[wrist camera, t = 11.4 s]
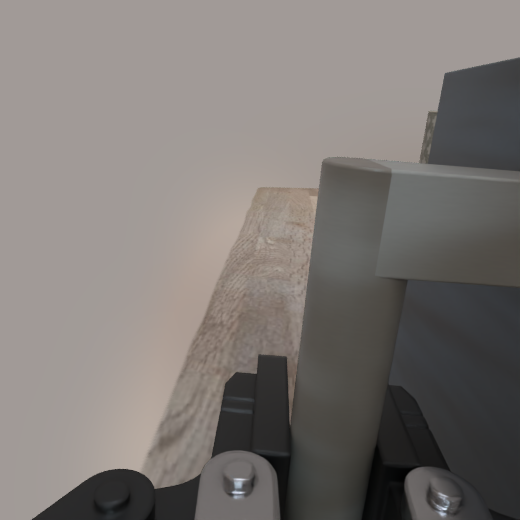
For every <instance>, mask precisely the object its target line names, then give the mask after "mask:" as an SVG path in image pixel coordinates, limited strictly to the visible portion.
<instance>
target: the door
mask: <svg viewBox="0 0 520 520" xmlns="http://www.w3.org/2000/svg"><path fill="white" fill-rule="evenodd" d="M388 383H389V385H395V386H402V387H403V388H404V389H405V390H406V391H407V392H408V393H409V394H411V395H412V396H413V397H414V398H415V399H416V401H417V403H418V405H419V407H420V409H421V411H422V413H423V417H425V419H426V421H427V423H428V425H429V429H430V430H431V432H432V434H433V436H434V438H435V440H436V442H437V444H438V446H439V448H440V450H441V452H442V454H443V456H444V458H445V460H446V462H447V465H448V467H449V469H450V471H451V472H453V473H455V474H457V475H459V476H461V477H462V478H464V479H465V480H467V481H468V482H469V483H470V484H472V485H473V486H474V487H475V488H476V489H477V490H478V492H479V493H480V494H481V496H482V498H483V499H484V501H485V503H486V505H487V508H489V509H491V510H493V511H495V512H498V513H501V514H503V515H506V516H509V517H512V518H515V519H518V520H520V58H515V59H510V60H505V61H500V62H496V63H491V64H486V65H481V66H476V67H472V68H467V69H462V70H457V71H453V72H449V73H445V76H444V81H443V87H442V91H441V97H440V102H439V107H438V112H437V117H436V123H435V128H434V133H433V138H432V144H431V149H430V154H429V159H428V164H423V163H410V162H399V161H387V160H375V159H362V158H345V157H332V158H326V159H324V160H323V162H322V168H321V176H320V185H319V192H318V201H317V209H316V217H315V226H314V234H313V242H312V250H311V259H310V267H309V275H308V283H307V292H306V300H305V308H304V317H303V325H302V333H301V341H300V350H299V358H298V366H297V374H296V383H295V391H294V399H293V408H292V416H291V424H290V446H291V459H290V467H289V476H288V485H287V494H286V502H285V511H284V520H362V515H363V510H364V505H365V500H366V494H367V489H368V484H369V479H370V474H371V468H372V463H373V458H374V453H375V448H376V442H377V437H378V432H379V427H380V422H381V416H382V411H383V406H384V401H385V396H386V391H387V385H388Z"/></svg>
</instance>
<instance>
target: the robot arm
mask: <svg viewBox="0 0 520 520" xmlns="http://www.w3.org/2000/svg"><path fill="white" fill-rule="evenodd" d="M290 459H291V446H290V422H289V398H288V374H287V357H286V356H273V355H261V354H259V355H258V368H257V374H251V373H239V372H236V373H235V374H234V375H233V376H232V377H231V378H230V379H229V380H228V381H227V382H226V384H225V389H224V394H223V400H222V405H221V412H220V415H219V421H218V426H217V431H216V437H215V442H214V447H213V452H212V457H211V459H210V460H209V461H208V462H207V463H206V465H205V466H204V467H203V469H202V472H201V474H200V475H198V476H197V477H195V478H194V479H192V480H190V481H188V482H185V483H183V484H179V485H175V486H170V487H165V488H160V489H154V486H153V484H152V482H151V481H150V480H149V479H148V478H147V477H146V476H145V475H143V474H141V473H139V472H137V471H133V470H128V469H115V470H108V471H104V472H101V473H99V474H96V475H94V476H92V477H91V478H89V479H88V480H86V481H84V482H83V483H81V484H80V485H79V486H77V487H76V488H75V489H73V490H72V491H70V492H69V493H68V494H66V495H65V496H64V497H62V498H61V499H59V500H58V501H57V502H55V503H54V504H53V505H51V506H50V507H49V508H47V509H46V510H45V511H43V512H42V513H40V514H39V515H37V516H36V517H35V518H33V519H32V520H284V511H285V502H286V494H287V485H288V476H289V467H290ZM362 520H518V519H515V518H512V517H509V516H506V515H503V514H501V513H498V512H495V511H493V510H491V509H489V508H487V505H486V503H485V501H484V499H483V498H482V496H481V494H480V493H479V492H478V490H477V489H476V488H475V487H474V486H473V485H472V484H470V483H469V482H468V481H467V480H465V479H464V478H462V477H461V476H459V475H457V474H455V473H453V472H451V471H450V469H449V467H448V465H447V462H446V460H445V458H444V456H443V454H442V452H441V450H440V448H439V446H438V444H437V442H436V440H435V438H434V436H433V434H432V432H431V430H430V429H429V425H428V423H427V421H426V419H425V417H423V413H422V411H421V409H420V407H419V405H418V403H417V401H416V399H415V398H414V397H413V396H412V395H411V394H409V393H408V392H407V391H406V390H405V389H404V388H403V387H402V386H395V385H389V383H388V385H387V391H386V396H385V401H384V406H383V411H382V416H381V422H380V427H379V432H378V437H377V442H376V448H375V453H374V458H373V463H372V468H371V474H370V479H369V484H368V489H367V494H366V500H365V505H364V510H363V515H362Z"/></svg>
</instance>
